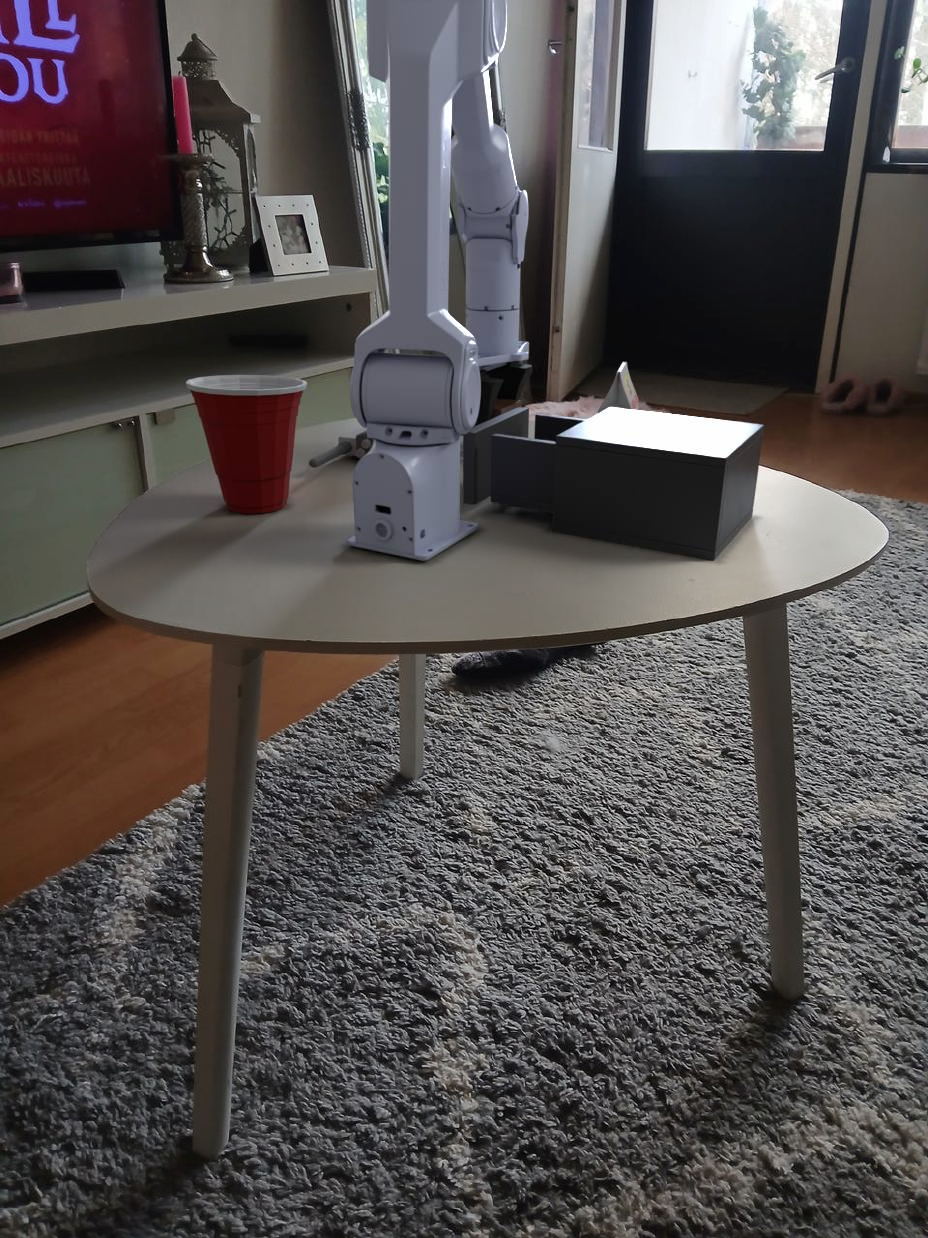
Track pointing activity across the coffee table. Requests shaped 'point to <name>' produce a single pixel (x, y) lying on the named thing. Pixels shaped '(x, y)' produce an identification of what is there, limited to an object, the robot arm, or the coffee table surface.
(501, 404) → the block
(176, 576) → the coffee table surface
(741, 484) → the cabinet
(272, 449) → the plastic cup
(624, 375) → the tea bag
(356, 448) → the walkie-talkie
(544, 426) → the drawer
